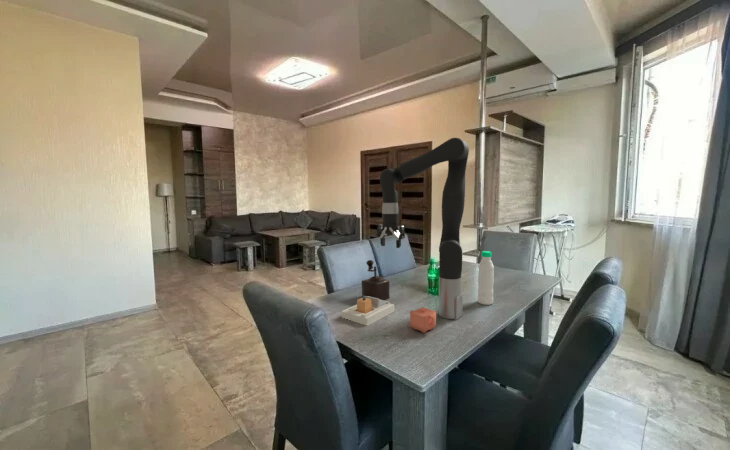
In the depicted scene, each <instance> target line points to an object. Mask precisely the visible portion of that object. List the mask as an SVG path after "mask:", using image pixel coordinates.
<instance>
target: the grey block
mask: <svg viewBox="0 0 730 450" xmlns="http://www.w3.org/2000/svg"><path fill="white" fill-rule="evenodd" d="M366 298H368V299H371V303H372V307H376V308H379V307H381V306H383V305H385V304H387V302H385V301H386V300H384V301H381V300H379V299H378V298H374V297H370V296H366Z"/></svg>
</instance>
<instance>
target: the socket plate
mask: <svg viewBox="0 0 730 450" xmlns="http://www.w3.org/2000/svg"><path fill="white" fill-rule="evenodd" d="M379 300H380V299H379ZM381 301H385V302H387V304H385V305H383V306H381V307H379V308H376V307H372V311H370V312H368V313H366V314H365V313H361V312H358V311H357V304H354V305H353V306H349V307H347V308H346V309H343V310H341V318H342V319H344V318H345V320H347V319H348V320H347V321H350V320H351V321H350V322H353V323H357V324H359V325H360V324H361V325H363V326H366V327H367V325H368V326H369V325H371V324H373V323H375V322H377V321H379V320H380V319H382V318H385V317H386V316H388V315H390V314H391V313H394V312H395V311H396V310H395V304H393V303H391V301H387V300H381Z"/></svg>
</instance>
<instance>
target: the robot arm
mask: <svg viewBox="0 0 730 450" xmlns="http://www.w3.org/2000/svg"><path fill="white" fill-rule="evenodd" d="M469 152H470V148H469V145H468V143H467V142H466V141H465V140H463V139H461V138H459V137H451V138H448V140H446V141H444V142H443V143H441V144H439V145H437V146H436V147H435V148H433V149H431V150H429V151H428V152H425V153H423V154H421V155H418V156H417V157H413V158H411V159H409V160H407V161H405V162H402V163H401V164H400V165H399V166H398V167H396V168H384V169H383V170H382V171H381V172H380V175H379V183H380V187H381V189H380V190H381V192H382V207H381V208H382V209H381V217H382V223H380V224H379V223H378V224H377V225H376V226H377V227H376V237H378V238H379V239H380V245H381V247H384V246H386V237H387V235H392V236H393V237H394V238H395V239H396V240H395V249H400V248H401V246H402V240H404V239H405V238H406V236H405V235H406V231H405V225H399V203H398V202H399V198H398V197H399V193H398V191H397V190H396V189H395V185H397V184H398V183H401V182H403V181H406V179H408V178H411V177H414V176H416V175H419V174H421V173H423V172H425V171H427V170H429V169H430V168H431V167H433V166H437V164H441V163H444V162H447V164H448V169H447V176H446V179H445V183H444V186H443V190H442V197H441V223H442V224H441V225H442V230H441V236H440V242H439V246H438V251H439V252H438V253H439V260H438V261H439V264H438V265H439V268H438V316H439V317H440V318H443V319H447V320H459V319H460V318H461V317H462V316H463V301H464V299H463V293H462V272H463V248H462V246H461V243H460V242H461V241H460V226H461V222H462V219H463V214H464V210H465V201H466V200H465V199H466V198H465V197H466V169H467V163H468V159H469V154H470V153H469Z"/></svg>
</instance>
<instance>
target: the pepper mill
mask: <svg viewBox="0 0 730 450" xmlns="http://www.w3.org/2000/svg"><path fill="white" fill-rule="evenodd" d="M365 263H366V265H367V266H368V268H367V272H369V273H370V272H374V273H373V274H374V275H373V276H371V277H369V278H366V279H363V280H361V298H363V296H370V297H374V298H378V299H380V300H384V301H387V300H389V299H390V280H389V279H386V278H383V277H381V275H380V274H379V276H378V275H377V266H373V265H374V261H373V260H372V259H369V260H367V261H366V262H365Z"/></svg>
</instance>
